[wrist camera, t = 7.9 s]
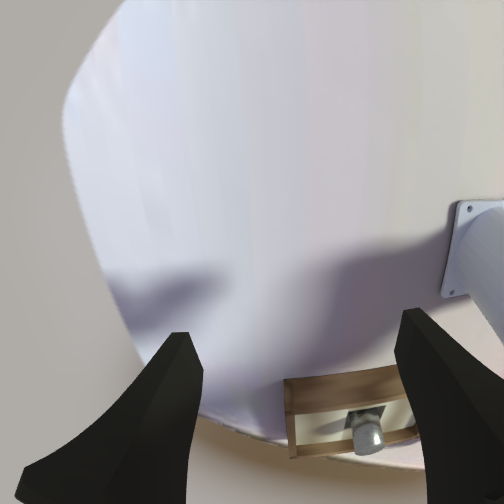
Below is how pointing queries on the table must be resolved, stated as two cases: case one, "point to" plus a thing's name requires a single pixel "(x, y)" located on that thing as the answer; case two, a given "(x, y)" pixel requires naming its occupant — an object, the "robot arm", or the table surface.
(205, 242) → the table surface
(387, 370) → the peg box
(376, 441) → the peg
